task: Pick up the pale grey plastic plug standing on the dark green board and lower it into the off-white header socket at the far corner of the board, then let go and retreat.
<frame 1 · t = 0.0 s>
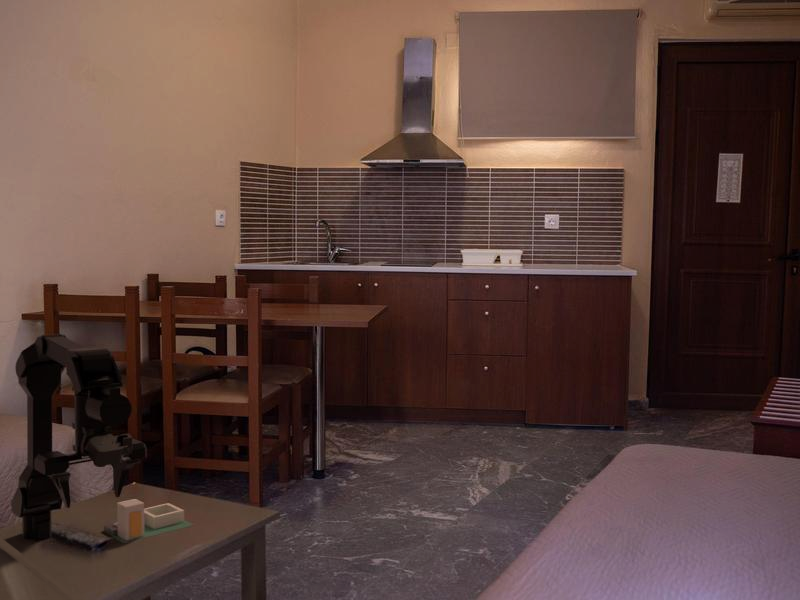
hand: (93, 502, 147), 14 cm above the table, fingers open, 9 cm apart
plug: (131, 535, 168), point 1 cm above the table, touching header board
push button: (119, 535, 171), resting on header board
header board: (148, 532, 173), on the table
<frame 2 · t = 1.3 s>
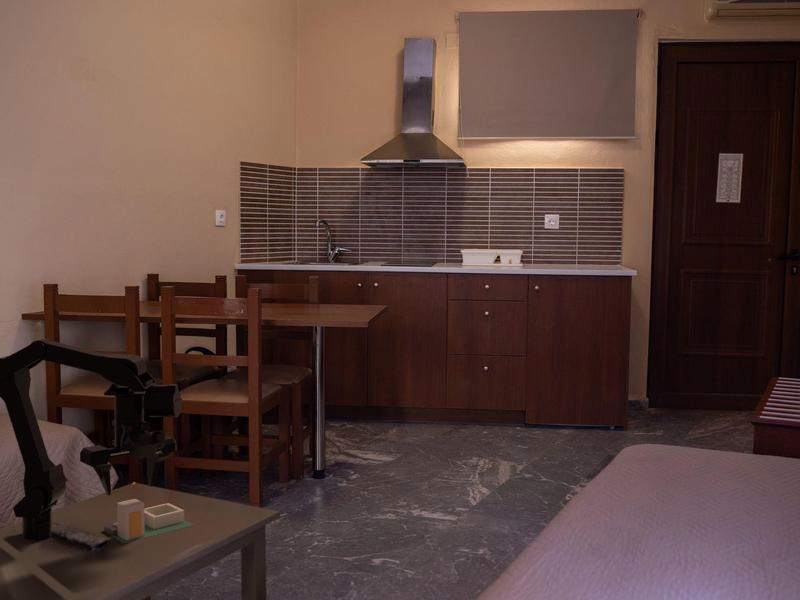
hand: (129, 490, 167), 11 cm above the table, fingers open, 9 cm apart
nothing on the table moved.
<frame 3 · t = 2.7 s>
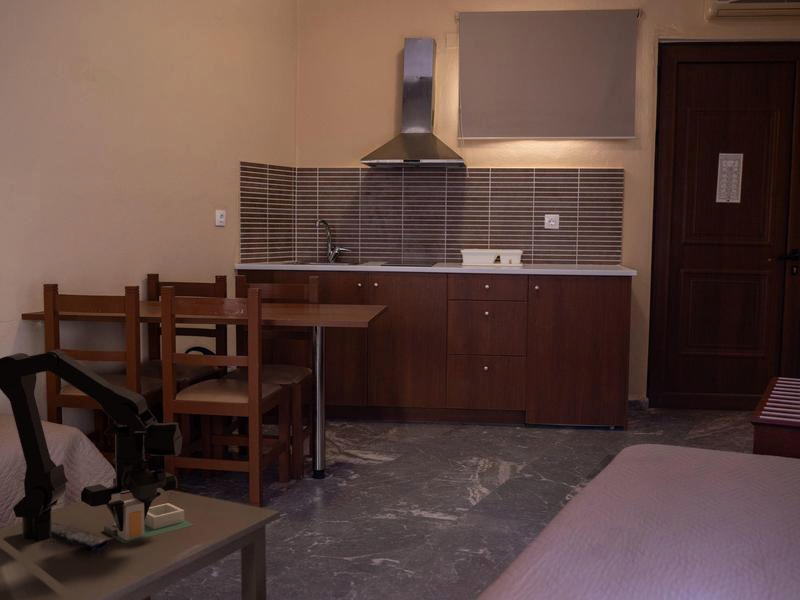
hand: (130, 528, 168), 3 cm above the table, fingers closed on plug, 4 cm apart
plug: (131, 535, 168), point 1 cm above the table, touching gripper, header board
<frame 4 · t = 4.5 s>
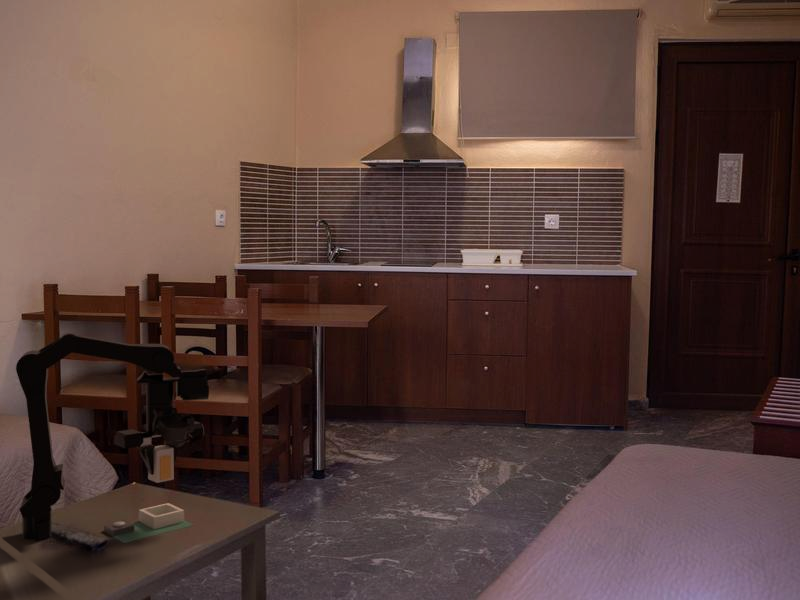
hand: (160, 472, 176), 12 cm above the table, fingers closed on plug, 4 cm apart
plug: (161, 479, 176), point 10 cm above the table, touching gripper
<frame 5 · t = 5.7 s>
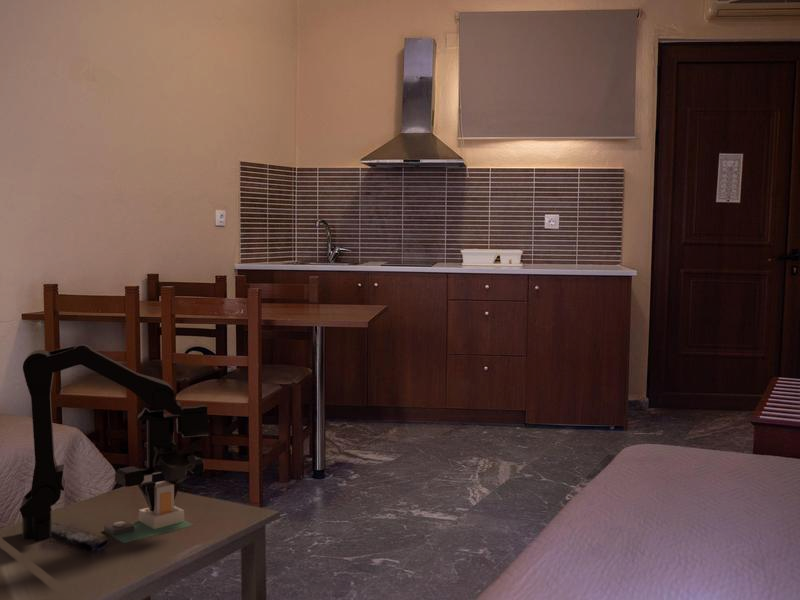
hand: (161, 508, 177), 4 cm above the table, fingers closed on plug, 4 cm apart
plug: (161, 515, 177), point 2 cm above the table, touching gripper
when the fingers open (4 cm above the table, at t = 6.4 s): plug drops 1 cm, resting on header board.
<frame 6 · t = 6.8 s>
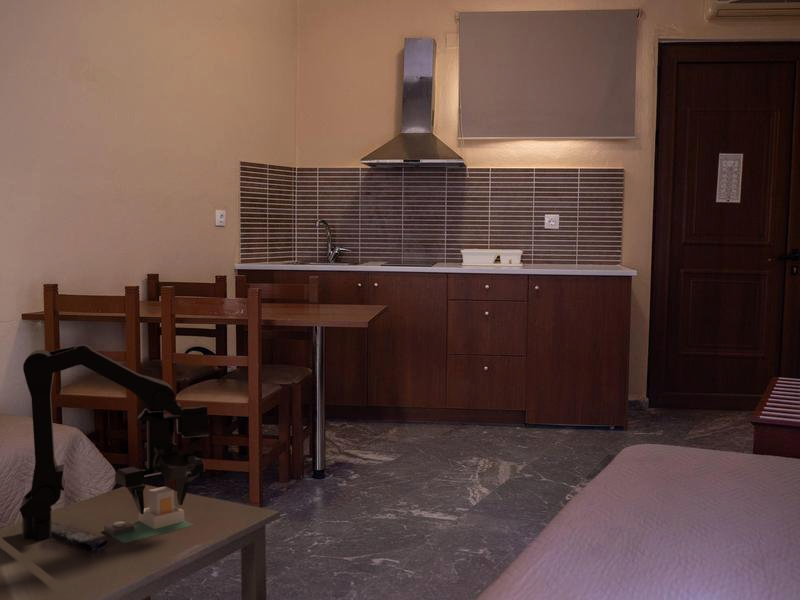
hand: (161, 509, 177), 4 cm above the table, fingers open, 9 cm apart
plug: (161, 521, 177), point 1 cm above the table, touching header board
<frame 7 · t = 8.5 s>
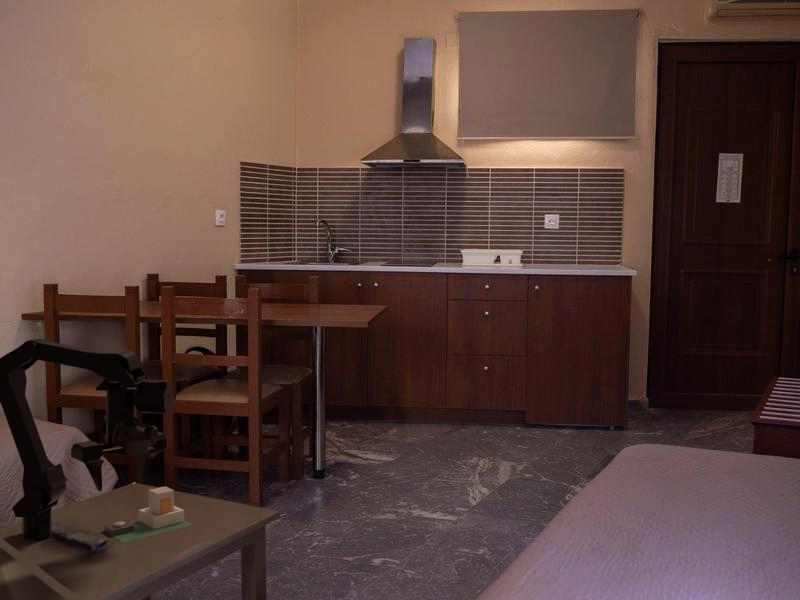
hand: (120, 486, 166), 12 cm above the table, fingers open, 9 cm apart
nothing on the table moved.
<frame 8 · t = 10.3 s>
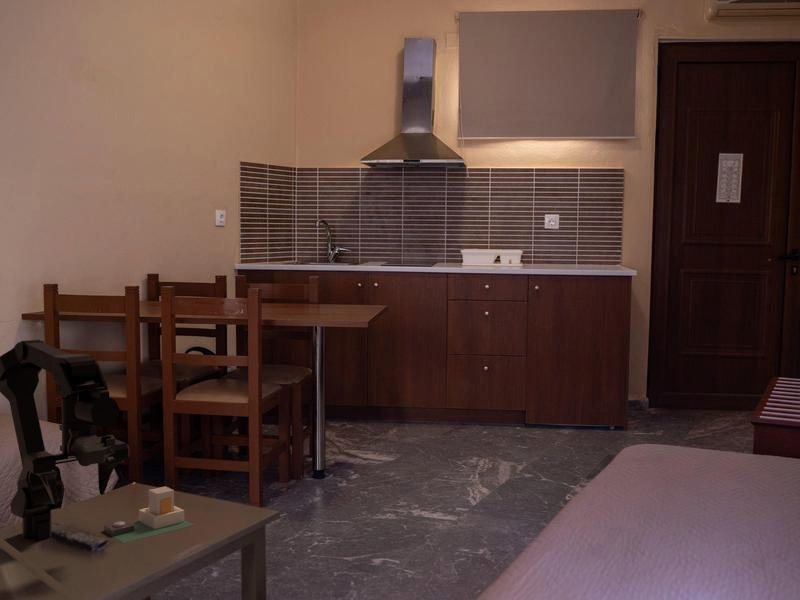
hand: (78, 499, 157), 12 cm above the table, fingers open, 9 cm apart
nothing on the table moved.
at the end: plug 0.1 cm from the target spot on the header board, point 1.0 cm above the header board's base; plug tilted 0°; the gripper is holding nothing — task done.
